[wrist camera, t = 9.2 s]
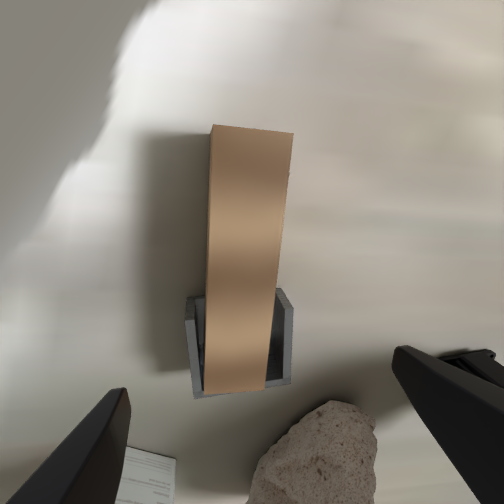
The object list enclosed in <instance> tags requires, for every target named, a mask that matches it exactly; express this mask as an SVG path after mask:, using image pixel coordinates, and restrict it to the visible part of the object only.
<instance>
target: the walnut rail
mask: <svg viewBox="0 0 504 504" xmlns="http://www.w3.org/2000/svg"><path fill="white" fill-rule="evenodd" d="M292 142H293V133H286V132H277V131H268V130H259V129H250V128H241V127H232V126H223V125H214V124H213V127H212V130H211V133H210V163H209V194H208V226H207V258H206V289H205V321H204V352H203V359H204V395H207V394H220V393H233V392H246V391H259V390H264V388H265V379H266V371H267V362H268V353H269V344H270V335H271V327H272V318H273V309H274V300H275V291H276V283H277V274H278V265H279V256H280V248H281V239H282V230H283V221H284V212H285V204H286V195H287V186H288V177H289V169H290V160H291V151H292Z"/></svg>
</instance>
